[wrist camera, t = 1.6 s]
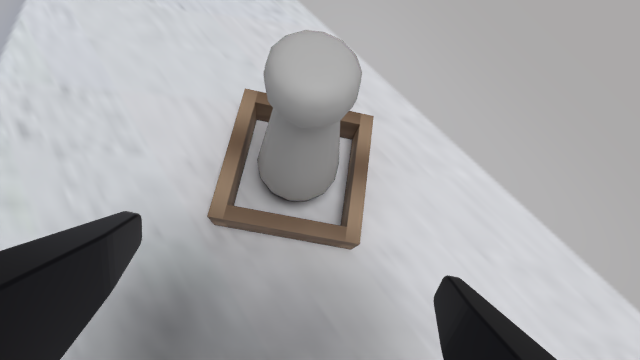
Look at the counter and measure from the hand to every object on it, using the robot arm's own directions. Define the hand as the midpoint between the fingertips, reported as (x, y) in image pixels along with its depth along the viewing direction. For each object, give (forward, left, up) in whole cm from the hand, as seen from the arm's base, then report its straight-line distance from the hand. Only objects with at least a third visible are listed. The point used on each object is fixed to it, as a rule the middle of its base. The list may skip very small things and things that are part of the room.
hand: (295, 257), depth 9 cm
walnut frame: (+3, +7, -14) cm, 16 cm away
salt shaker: (+3, +7, -14) cm, 16 cm away
